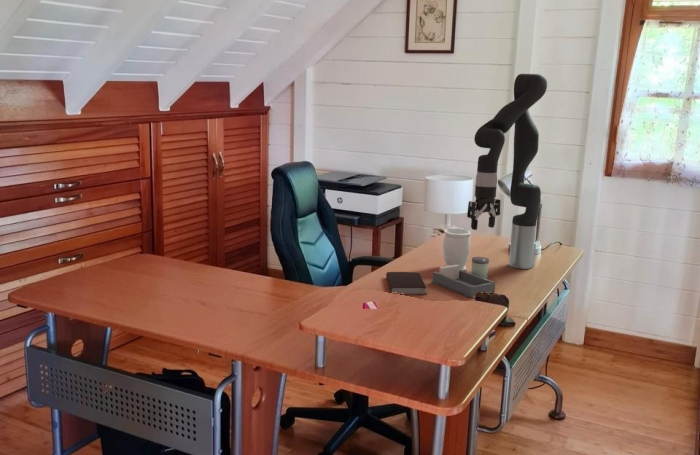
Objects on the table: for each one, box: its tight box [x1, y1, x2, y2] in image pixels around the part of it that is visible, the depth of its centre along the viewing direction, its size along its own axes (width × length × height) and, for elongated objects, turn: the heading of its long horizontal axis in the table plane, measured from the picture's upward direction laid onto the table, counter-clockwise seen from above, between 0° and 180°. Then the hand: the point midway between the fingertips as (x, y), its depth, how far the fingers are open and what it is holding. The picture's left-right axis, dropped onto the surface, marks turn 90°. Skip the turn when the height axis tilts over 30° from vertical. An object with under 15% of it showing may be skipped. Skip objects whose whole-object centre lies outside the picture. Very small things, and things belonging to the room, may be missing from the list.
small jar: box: [470, 256, 490, 279], centre depth 250 cm, size 6×6×8 cm
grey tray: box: [431, 270, 496, 299], centre depth 241 cm, size 11×20×4 cm, turn 34°
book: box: [385, 271, 427, 296], centre depth 242 cm, size 12×19×3 cm, turn 1°
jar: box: [442, 228, 472, 271], centre depth 264 cm, size 11×10×15 cm
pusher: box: [438, 265, 460, 279], centre depth 246 cm, size 8×2×5 cm, turn 124°
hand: (482, 228), depth 247 cm, fingers open, 8 cm apart
